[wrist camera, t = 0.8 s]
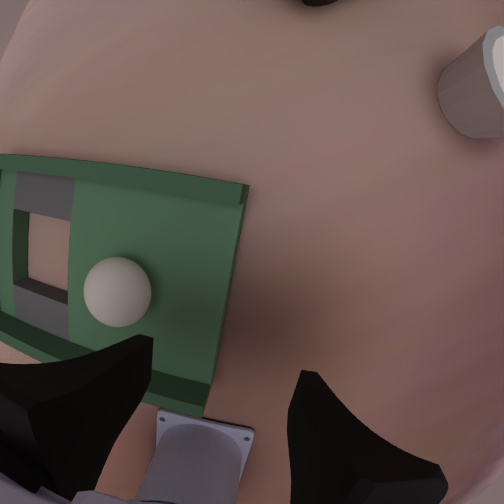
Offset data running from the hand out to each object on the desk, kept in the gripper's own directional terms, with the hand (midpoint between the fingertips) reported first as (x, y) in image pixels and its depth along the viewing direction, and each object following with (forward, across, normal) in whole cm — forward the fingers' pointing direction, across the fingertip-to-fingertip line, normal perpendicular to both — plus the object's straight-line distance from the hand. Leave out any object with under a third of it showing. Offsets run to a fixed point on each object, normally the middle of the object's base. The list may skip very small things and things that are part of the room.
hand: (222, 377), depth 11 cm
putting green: (+9, +11, -1) cm, 15 cm away
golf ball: (+5, +7, 0) cm, 9 cm away
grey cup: (+10, -13, -17) cm, 23 cm away
